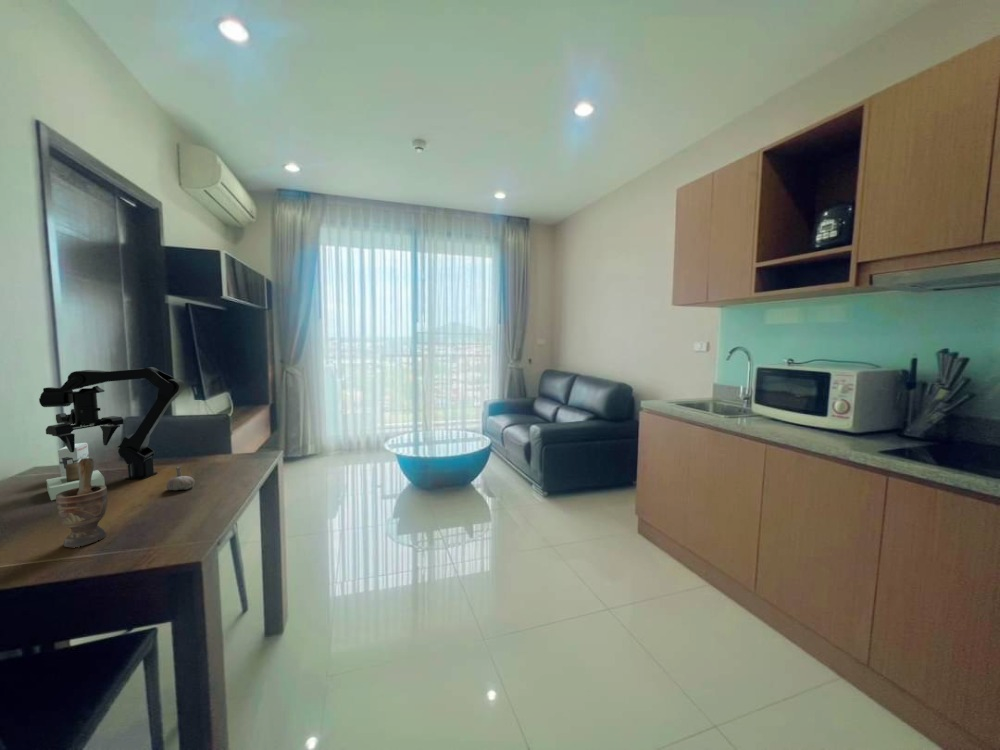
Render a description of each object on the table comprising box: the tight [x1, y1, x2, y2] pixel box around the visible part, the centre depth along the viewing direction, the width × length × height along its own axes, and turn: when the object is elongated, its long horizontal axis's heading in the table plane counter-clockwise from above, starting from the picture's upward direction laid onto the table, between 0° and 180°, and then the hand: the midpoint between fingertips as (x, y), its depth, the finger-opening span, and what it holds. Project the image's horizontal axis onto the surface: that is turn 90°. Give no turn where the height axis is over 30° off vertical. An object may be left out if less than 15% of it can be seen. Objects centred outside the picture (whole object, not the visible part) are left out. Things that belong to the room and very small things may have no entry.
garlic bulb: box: [166, 466, 196, 491], centre depth 130 cm, size 8×7×8 cm
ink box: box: [57, 442, 90, 477], centre depth 140 cm, size 8×5×12 cm, turn 28°
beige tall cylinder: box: [65, 462, 79, 482], centre depth 128 cm, size 4×4×9 cm
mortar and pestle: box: [55, 457, 108, 549], centre depth 96 cm, size 12×9×20 cm
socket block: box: [46, 469, 106, 501], centre depth 128 cm, size 12×12×4 cm
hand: (89, 448), depth 135 cm, fingers open, 9 cm apart
